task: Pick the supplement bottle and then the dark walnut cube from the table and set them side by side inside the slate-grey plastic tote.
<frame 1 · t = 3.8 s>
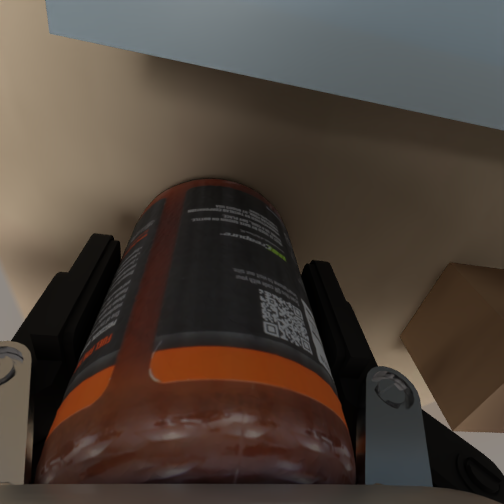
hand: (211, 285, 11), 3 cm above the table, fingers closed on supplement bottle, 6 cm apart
walnut cube: (465, 306, 16), on the table
supplement bottle: (214, 240, 13), on the table, touching gripper
when the fingers open (6 cm above the table, at t = 9.4 s): supplement bottle drops 2 cm, resting on tote.
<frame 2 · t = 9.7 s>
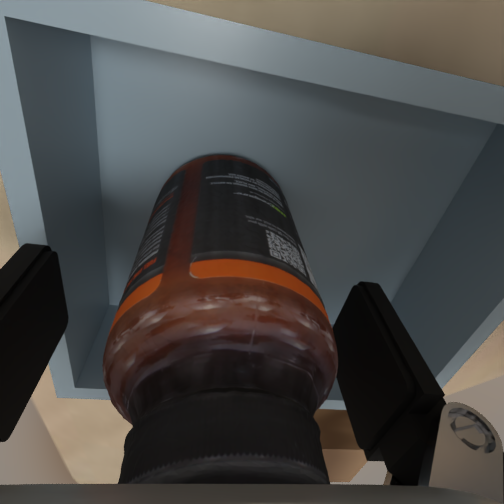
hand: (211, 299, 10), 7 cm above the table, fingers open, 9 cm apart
tote: (275, 214, 16), on the table
walnut cube: (312, 397, 26), on the table
supplement bottle: (223, 211, 15), point 1 cm above the table, touching tote
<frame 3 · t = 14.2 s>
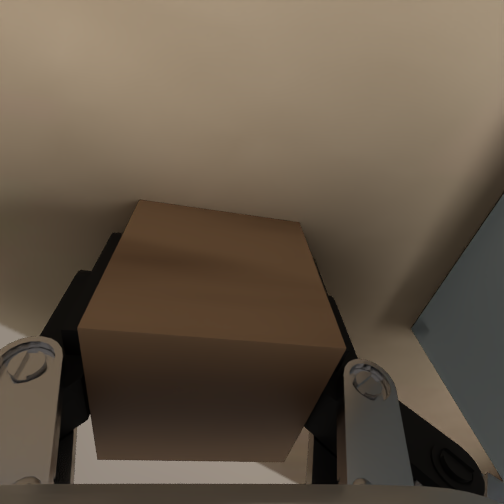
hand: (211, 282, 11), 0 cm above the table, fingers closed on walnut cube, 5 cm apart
walnut cube: (212, 273, 11), on the table, touching gripper
when the fingers open (3 cm above the table, at t = 19.7 s): walnut cube drops 2 cm, resting on tote.
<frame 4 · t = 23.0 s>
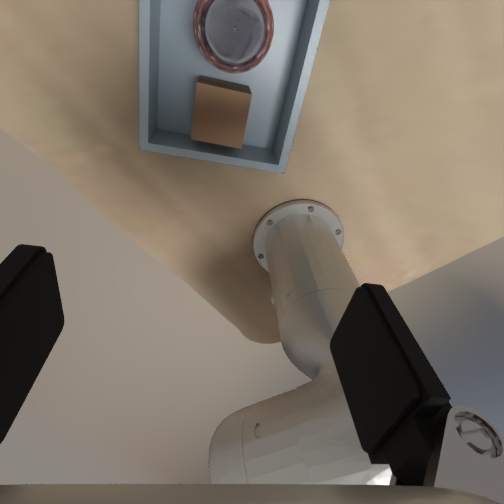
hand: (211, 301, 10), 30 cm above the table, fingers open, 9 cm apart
tote: (227, 57, 33), on the table
walnut cube: (220, 106, 34), point 1 cm above the table, touching tote
supplement bottle: (232, 26, 31), point 1 cm above the table, touching tote
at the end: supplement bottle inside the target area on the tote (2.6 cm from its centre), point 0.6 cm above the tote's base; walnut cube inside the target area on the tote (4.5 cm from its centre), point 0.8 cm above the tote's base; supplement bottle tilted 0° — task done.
